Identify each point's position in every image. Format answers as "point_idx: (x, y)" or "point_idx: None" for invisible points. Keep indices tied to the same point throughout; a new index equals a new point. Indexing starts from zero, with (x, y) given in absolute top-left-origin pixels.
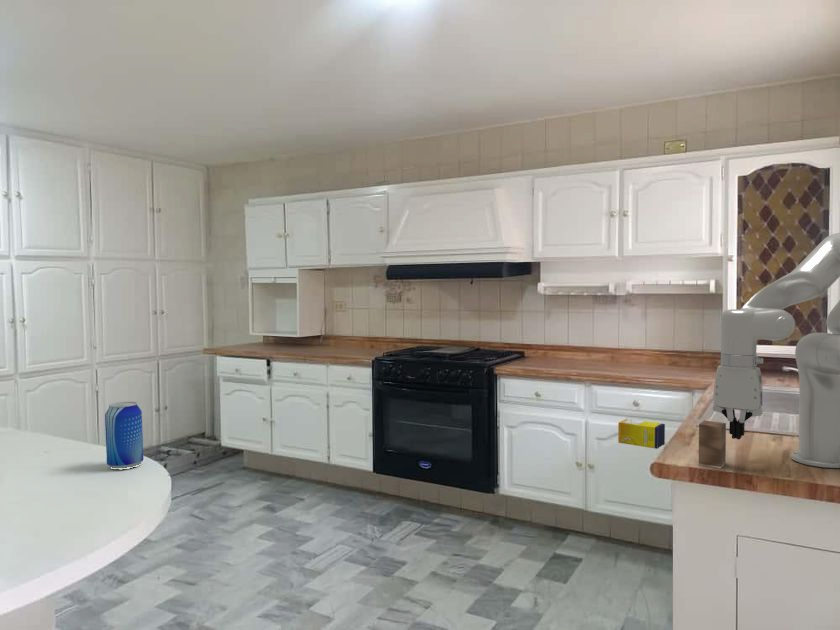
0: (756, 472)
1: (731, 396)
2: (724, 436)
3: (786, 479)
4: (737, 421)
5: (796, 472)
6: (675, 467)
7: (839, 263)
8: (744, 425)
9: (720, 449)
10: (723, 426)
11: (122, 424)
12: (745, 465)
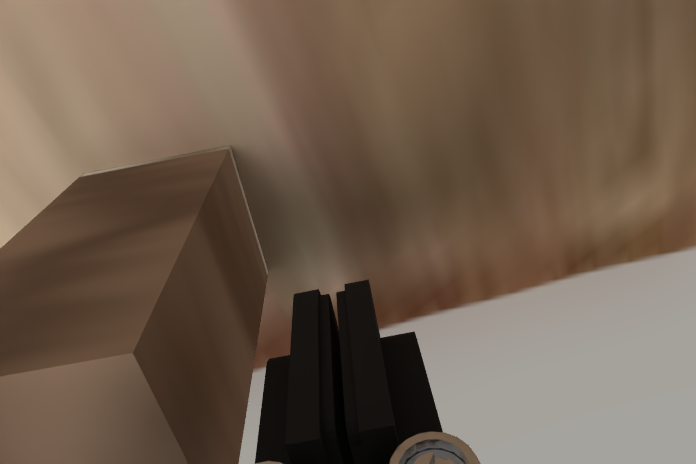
0: (463, 210)
1: None
2: (200, 304)
3: (635, 225)
4: (342, 455)
5: (693, 16)
6: None
7: None
8: (436, 410)
9: (252, 354)
10: (191, 444)
11: None
12: (355, 98)
